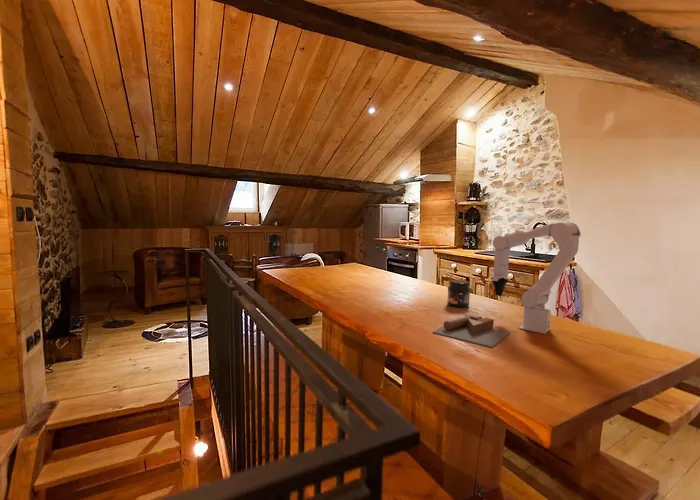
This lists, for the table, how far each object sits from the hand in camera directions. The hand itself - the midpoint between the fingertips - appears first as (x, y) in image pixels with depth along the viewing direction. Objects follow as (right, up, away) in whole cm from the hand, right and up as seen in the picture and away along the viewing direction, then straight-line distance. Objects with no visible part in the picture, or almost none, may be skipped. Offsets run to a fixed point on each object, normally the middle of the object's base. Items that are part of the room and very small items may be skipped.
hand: (498, 295), depth 159 cm
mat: (-18, -12, -19) cm, 29 cm away
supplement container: (-11, -8, +23) cm, 26 cm away
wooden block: (-11, -9, -10) cm, 17 cm away
